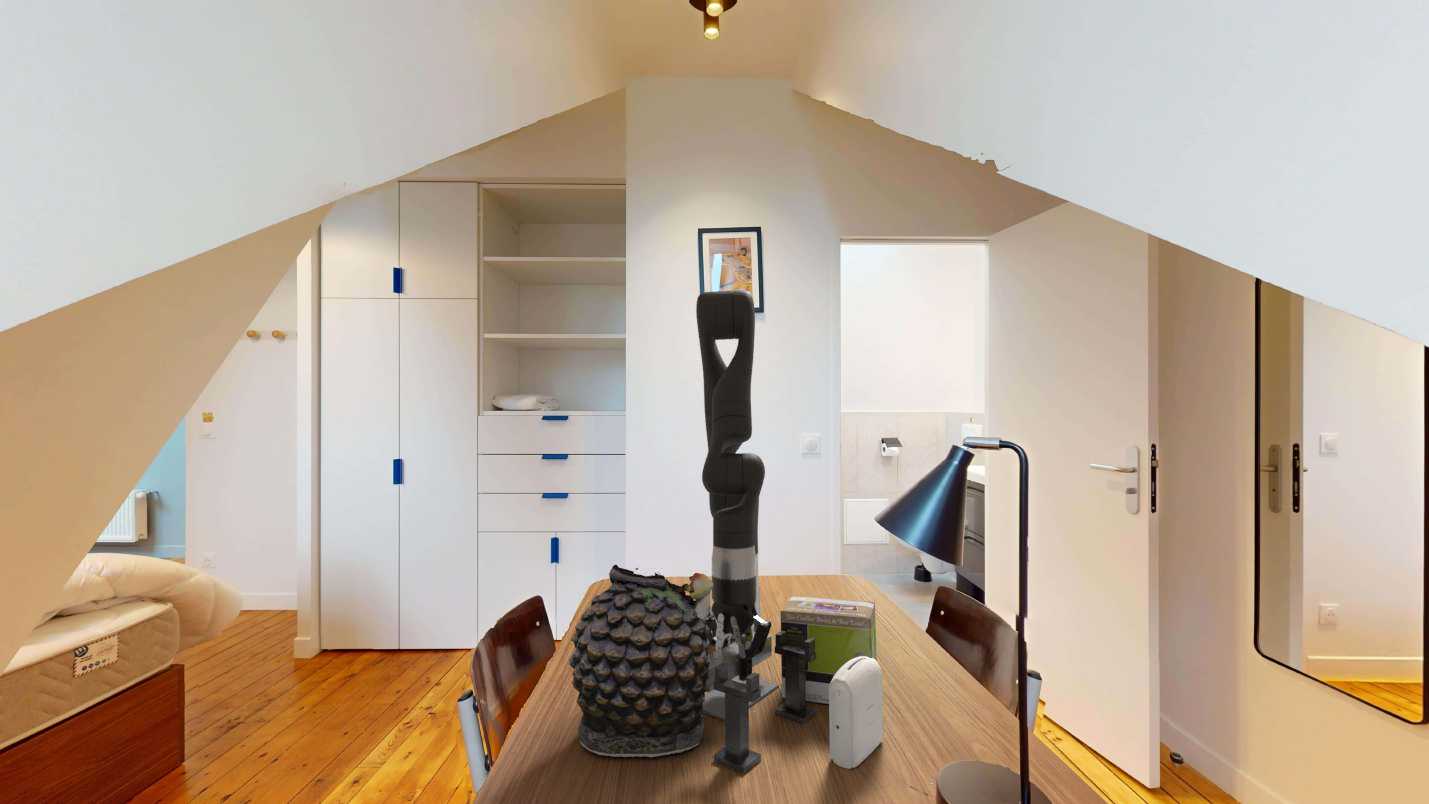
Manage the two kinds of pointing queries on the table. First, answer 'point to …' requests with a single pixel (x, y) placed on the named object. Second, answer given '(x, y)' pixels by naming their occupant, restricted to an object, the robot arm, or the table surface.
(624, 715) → the scaly pinecone sculpture
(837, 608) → the tea box
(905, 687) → the table surface
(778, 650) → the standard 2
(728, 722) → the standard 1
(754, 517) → the robot arm
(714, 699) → the pad
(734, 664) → the rail
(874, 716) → the photo printer
